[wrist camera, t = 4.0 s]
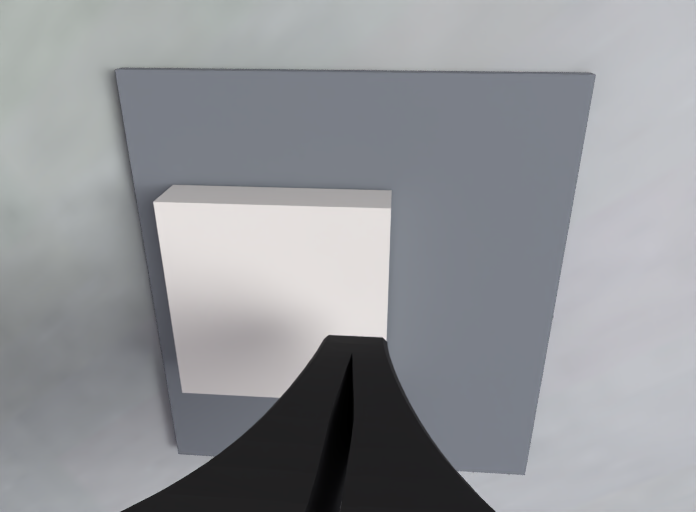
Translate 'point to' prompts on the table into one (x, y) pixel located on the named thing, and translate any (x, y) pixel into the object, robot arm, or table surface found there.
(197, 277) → the tile
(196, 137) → the mat
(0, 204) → the table surface
